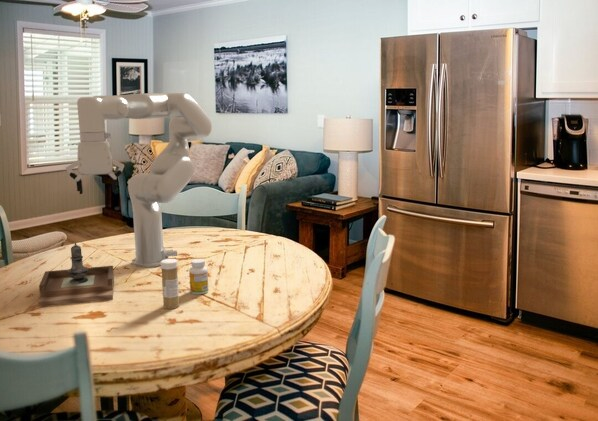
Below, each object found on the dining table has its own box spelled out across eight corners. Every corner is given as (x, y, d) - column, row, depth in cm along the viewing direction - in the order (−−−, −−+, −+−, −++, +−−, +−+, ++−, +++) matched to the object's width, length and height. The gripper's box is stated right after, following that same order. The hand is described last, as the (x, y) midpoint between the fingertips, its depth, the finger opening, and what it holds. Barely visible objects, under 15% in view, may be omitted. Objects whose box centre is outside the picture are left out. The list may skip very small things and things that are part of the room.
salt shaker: (82, 284, 176) (78, 245, 174) (64, 283, 177) (60, 244, 175) (92, 278, 182) (89, 240, 179) (75, 277, 183) (72, 239, 180)
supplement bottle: (191, 289, 181) (189, 258, 179) (209, 288, 181) (207, 257, 179) (189, 295, 176) (188, 263, 174) (207, 294, 176) (206, 263, 174)
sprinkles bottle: (163, 304, 169) (160, 258, 166) (179, 303, 169) (177, 257, 167) (162, 310, 164) (160, 263, 161) (179, 308, 165) (177, 262, 162)
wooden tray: (114, 280, 190) (112, 265, 189) (112, 299, 173) (111, 283, 172) (46, 286, 184) (45, 271, 183) (38, 306, 167) (37, 290, 166)
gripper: (122, 135, 188) (126, 189, 192) (64, 137, 184) (69, 192, 187) (122, 137, 181) (126, 192, 185) (61, 139, 177) (67, 196, 180)
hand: (97, 192), depth 186 cm, fingers open, 9 cm apart
